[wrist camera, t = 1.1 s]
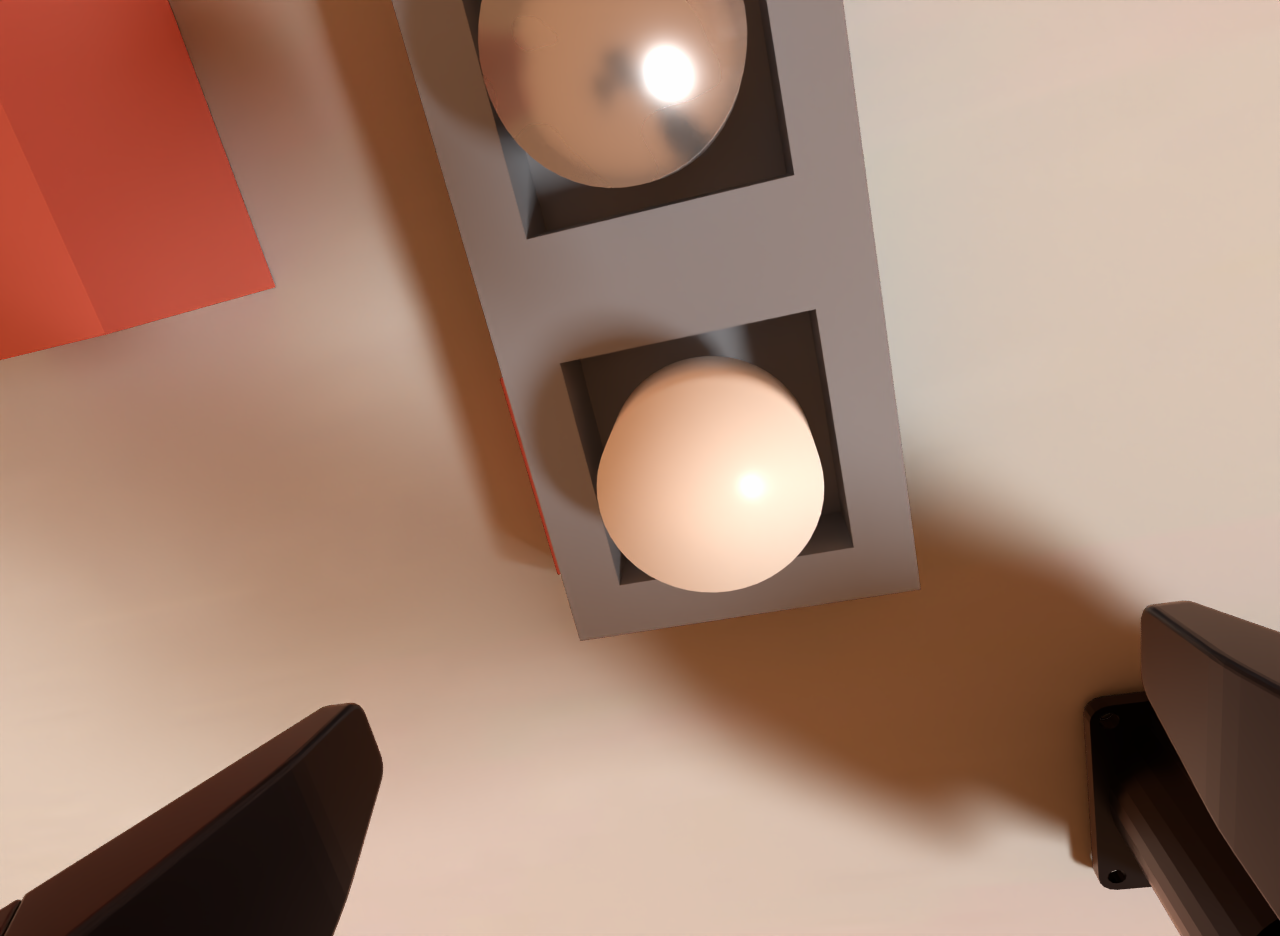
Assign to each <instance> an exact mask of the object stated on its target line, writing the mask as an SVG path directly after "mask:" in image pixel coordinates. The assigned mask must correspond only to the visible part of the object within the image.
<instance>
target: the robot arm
mask: <svg viewBox="0 0 1280 936" xmlns="http://www.w3.org/2000/svg"><path fill="white" fill-rule="evenodd" d="M1141 676H1142V682H1143V686H1144V689H1145V691H1143V692H1135V693H1127V694H1119V695H1111V696H1103V697H1099V698H1095V699H1093V700H1092V701H1090V702H1089V703H1088V704H1087V706H1086V707H1085V709H1084V730H1085V747H1086V763H1087V779H1088V796H1089V812H1090V829H1091V845H1092V861H1093V869H1094V872H1095V874H1096V876H1097V878H1098V880H1099V881H1100V883H1101V884H1102V885H1103V886H1104V887H1106V888H1108V889H1114V890H1120V889H1131V888H1143V887H1152V888H1153V890H1154V891H1155V893H1156V895H1157V896H1158V898H1159V900H1160V902H1161V903H1162V905H1163V907H1164V908H1165V910H1166V912H1167V913H1168V915H1169V917H1170V918H1171V920H1172V922H1173V923H1174V925H1175V927H1176V929H1177V930H1178V932H1179V934H1180V935H1181V936H1280V632H1278V631H1275V630H1272V629H1269V628H1266V627H1263V626H1260V625H1258V624H1255V623H1252V622H1249V621H1246V620H1243V619H1240V618H1237V617H1235V616H1232V615H1229V614H1226V613H1223V612H1220V611H1217V610H1215V609H1212V608H1209V607H1206V606H1203V605H1200V604H1197V603H1195V602H1191V601H1176V602H1169V603H1161V604H1153V605H1149V606H1147V607H1146V608H1145V609H1144V610H1143V613H1142V616H1141ZM1108 713H1112V715H1111V716H1110V717H1109V718H1107V719H1104V720H1102V719H1100V718H1101V717H1102V716H1103V715H1105V714H1108ZM382 775H383V762H382V757H381V754H380V751H379V749H378V746H377V743H376V741H375V738H374V735H373V733H372V730H371V728H370V725H369V722H368V720H367V717H366V714H365V712H364V710H363V709H362V708H361V707H360V706H359V705H357V704H355V703H345V704H337V705H329V706H325V707H322V708H320V709H319V710H317V711H316V712H314V713H312V714H311V715H309V716H308V717H306V718H304V719H303V720H301V721H300V722H298V723H296V724H295V725H293V726H292V727H290V728H289V729H287V730H285V731H284V732H282V733H281V734H279V735H277V736H276V737H274V738H273V739H271V740H269V741H268V742H266V743H265V744H263V745H262V746H260V747H258V748H257V749H255V750H254V751H252V752H250V753H249V754H247V755H246V756H244V757H242V758H241V759H239V760H238V761H236V762H235V763H233V764H231V765H230V766H228V767H227V768H225V769H223V770H222V771H220V772H219V773H217V774H215V775H214V776H212V777H211V778H209V779H208V780H206V781H204V782H203V783H201V784H200V785H198V786H196V787H195V788H193V789H192V790H190V791H188V792H187V793H185V794H184V795H182V796H181V797H179V798H177V799H176V800H174V801H173V802H171V803H169V804H168V805H166V806H165V807H163V808H161V809H160V810H158V811H157V812H155V813H154V814H152V815H150V816H149V817H147V818H146V819H144V820H142V821H141V822H139V823H138V824H136V825H134V826H133V827H131V828H130V829H128V830H127V831H125V832H123V833H122V834H120V835H119V836H117V837H115V838H114V839H112V840H111V841H109V842H107V843H106V844H104V845H103V846H101V847H100V848H98V849H96V850H95V851H93V852H92V853H90V854H88V855H87V856H85V857H84V858H82V859H80V860H79V861H77V862H76V863H74V864H73V865H71V866H69V867H68V868H66V869H65V870H63V871H61V872H60V873H58V874H57V875H55V876H53V877H52V878H50V879H49V880H47V881H46V882H44V883H42V884H41V885H39V886H38V887H36V888H34V889H33V890H31V891H30V892H28V893H27V894H25V896H24V897H23V899H22V900H15V901H13V902H12V903H10V904H9V905H7V906H6V907H4V908H2V909H1V910H0V936H333V935H334V932H335V930H336V927H337V924H338V922H339V919H340V917H341V914H342V911H343V908H344V906H345V903H346V900H347V897H348V894H349V891H350V888H351V885H352V882H353V879H354V875H355V872H356V868H357V865H358V861H359V858H360V854H361V851H362V847H363V844H364V840H365V837H366V833H367V830H368V826H369V823H370V819H371V816H372V812H373V809H374V805H375V802H376V798H377V795H378V791H379V788H380V784H381V781H382ZM1115 870H1116V871H1115ZM1112 871H1114V872H1112Z"/></svg>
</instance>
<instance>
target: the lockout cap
mask: <svg viewBox="0 0 1280 936" xmlns="http://www.w3.org/2000/svg"><path fill="white" fill-rule="evenodd" d="M274 287H275V284H274V282H273V279H272V276H271V274H270V271H269V268H268V266H267V263H266V260H265V258H264V255H263V252H262V250H261V247H260V244H259V242H258V239H257V236H256V234H255V231H254V228H253V226H252V223H251V220H250V218H249V215H248V212H247V210H246V207H245V204H244V202H243V199H242V196H241V194H240V191H239V188H238V186H237V183H236V180H235V178H234V175H233V172H232V170H231V167H230V164H229V162H228V159H227V156H226V154H225V151H224V148H223V146H222V143H221V140H220V138H219V135H218V132H217V130H216V127H215V124H214V122H213V119H212V116H211V114H210V111H209V108H208V106H207V103H206V100H205V98H204V95H203V92H202V90H201V87H200V84H199V82H198V79H197V76H196V74H195V71H194V68H193V66H192V63H191V60H190V58H189V55H188V52H187V50H186V47H185V44H184V42H183V39H182V36H181V34H180V31H179V28H178V26H177V23H176V20H175V18H174V15H173V12H172V10H171V7H170V4H169V2H168V0H0V360H2V359H7V358H11V357H15V356H19V355H23V354H27V353H31V352H35V351H40V350H44V349H48V348H52V347H56V346H60V345H64V344H69V343H73V342H77V341H81V340H85V339H89V338H93V337H97V336H102V335H106V334H109V333H113V332H117V331H120V330H124V329H127V328H131V327H134V326H138V325H142V324H145V323H149V322H152V321H156V320H160V319H163V318H167V317H170V316H174V315H178V314H181V313H185V312H188V311H192V310H195V309H199V308H203V307H206V306H210V305H213V304H217V303H221V302H224V301H228V300H231V299H235V298H239V297H242V296H246V295H249V294H253V293H256V292H260V291H264V290H267V289H271V288H274Z"/></svg>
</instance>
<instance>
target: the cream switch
mask: <svg viewBox="0 0 1280 936" xmlns="http://www.w3.org/2000/svg"><path fill="white" fill-rule="evenodd" d="M597 499H598V504H599V509H600V513H601V516H602V519H603V522H604V525H605V527H606V529H607V531H608V533H609V535H610V537H611V538H612V540H613V541H614V543H615V544H616V546H617V547H618V549H619V550H620V551H621V552H622V553H623V554H624V555H625V557H626V558H627V559H628V560H630V561H631V562H632V563H633V564H634V565H635V566H636V567H637V568H639V569H640V570H642V571H643V572H645V573H646V574H648V575H649V576H651V577H653V578H655V579H657V580H659V581H661V582H663V583H666V584H668V585H671V586H673V587H677V588H681V589H685V590H689V591H697V592H726V591H733V590H738V589H742V588H746V587H749V586H752V585H755V584H758V583H760V582H762V581H764V580H766V579H768V578H770V577H772V576H773V575H775V574H776V573H778V572H779V571H781V570H782V569H783V568H785V567H786V566H787V565H788V564H789V563H791V562H792V561H793V560H794V559H795V558H796V557H797V556H798V554H799V553H800V552H801V551H802V550H803V548H804V547H805V546H806V544H807V543H808V541H809V540H810V538H811V536H812V534H813V532H814V530H815V528H816V526H817V523H818V521H819V518H820V515H821V511H822V505H823V500H824V478H823V471H822V466H821V462H820V458H819V455H818V452H817V449H816V446H815V443H814V440H813V437H812V434H811V431H810V428H809V425H808V422H807V419H806V417H805V414H804V412H803V410H802V408H801V407H800V405H799V403H798V401H797V400H796V398H795V397H794V396H793V395H792V393H791V392H790V391H789V390H788V389H787V388H786V387H785V386H784V385H783V384H782V383H781V382H780V381H779V380H778V379H777V378H775V377H774V376H773V375H771V374H770V373H768V372H767V371H765V370H763V369H761V368H759V367H758V366H755V365H753V364H750V363H748V362H745V361H742V360H738V359H734V358H730V357H721V356H701V357H694V358H688V359H685V360H681V361H677V362H675V363H672V364H670V365H668V366H665V367H663V368H662V369H660V370H658V371H656V372H655V373H653V374H652V375H650V376H649V377H648V378H647V379H645V380H644V381H643V382H642V383H641V384H640V385H639V386H638V387H637V388H636V389H635V390H634V391H633V392H632V393H631V395H630V396H629V397H628V399H627V400H626V401H625V403H624V405H623V407H622V409H621V410H620V412H619V415H618V417H617V419H616V422H615V424H614V427H613V429H612V432H611V434H610V436H609V439H608V441H607V444H606V446H605V449H604V451H603V454H602V457H601V460H600V464H599V469H598V475H597Z"/></svg>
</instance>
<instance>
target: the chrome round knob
mask: <svg viewBox="0 0 1280 936" xmlns="http://www.w3.org/2000/svg"><path fill="white" fill-rule="evenodd" d="M478 46H479V57H480V64H481V69H482V74H483V78H484V82H485V85H486V88H487V91H488V94H489V97H490V100H491V102H492V104H493V106H494V108H495V110H496V112H497V115H498V116H499V118H500V120H501V121H502V123H503V124H504V126H505V128H506V129H507V131H508V132H509V133H510V135H511V136H512V137H513V138H514V140H515V141H516V142H517V143H518V145H519V146H520V147H521V148H523V149H524V150H525V151H526V152H527V153H528V154H529V155H530V156H531V157H532V158H533V159H535V160H536V161H537V162H539V163H540V164H541V165H543V166H544V167H545V168H547V169H549V170H550V171H552V172H554V173H556V174H558V175H559V176H562V177H564V178H567V179H569V180H572V181H574V182H577V183H581V184H585V185H589V186H595V187H604V188H621V187H630V186H636V185H641V184H645V183H649V182H652V181H656V180H659V179H662V178H665V177H667V176H669V175H672V174H674V173H676V172H678V171H680V170H681V169H683V168H684V167H686V166H687V165H689V164H690V163H692V162H693V161H694V160H695V159H697V158H698V157H699V156H700V155H701V154H702V153H704V152H705V150H706V149H707V148H708V147H709V146H710V145H711V144H712V143H713V142H714V140H715V139H716V138H717V136H718V135H719V133H720V132H721V130H722V129H723V127H724V126H725V124H726V122H727V120H728V118H729V116H730V114H731V112H732V110H733V107H734V104H735V102H736V99H737V96H738V92H739V88H740V84H741V80H742V76H743V71H744V66H745V59H746V51H747V22H746V13H745V6H744V1H743V0H482V2H481V8H480V15H479V24H478Z"/></svg>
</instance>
